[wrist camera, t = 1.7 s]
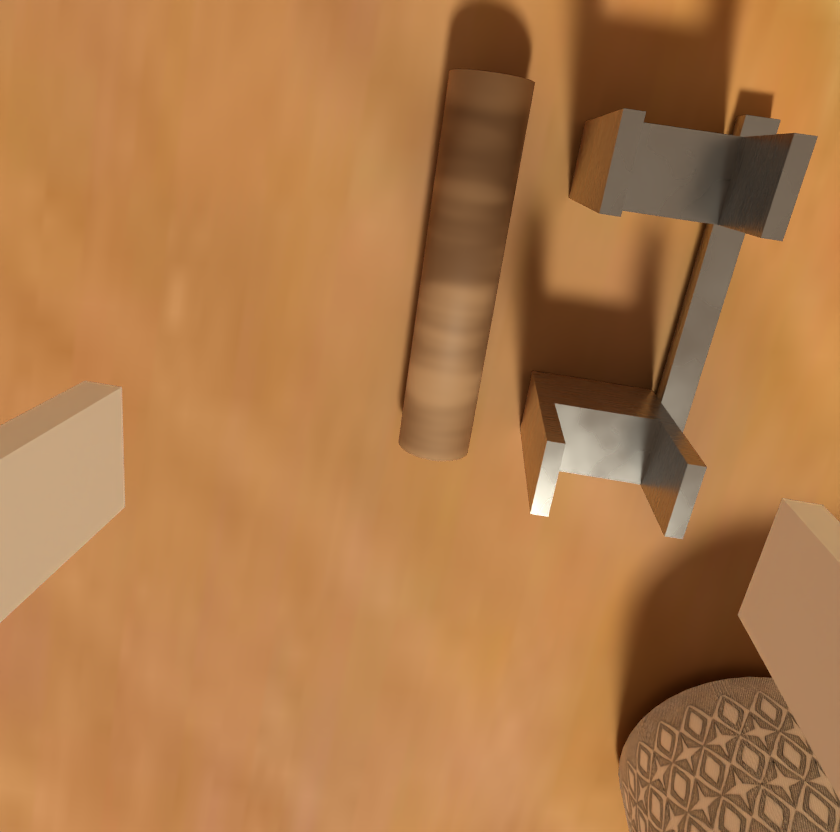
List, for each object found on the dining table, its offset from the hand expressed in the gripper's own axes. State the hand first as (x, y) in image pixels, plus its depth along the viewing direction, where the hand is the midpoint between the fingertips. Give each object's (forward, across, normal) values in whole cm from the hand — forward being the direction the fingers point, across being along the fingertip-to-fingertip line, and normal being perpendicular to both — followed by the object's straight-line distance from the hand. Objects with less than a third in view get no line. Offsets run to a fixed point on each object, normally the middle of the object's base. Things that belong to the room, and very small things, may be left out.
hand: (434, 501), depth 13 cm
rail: (+25, 0, +1) cm, 25 cm away
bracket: (+25, +8, +1) cm, 26 cm away
